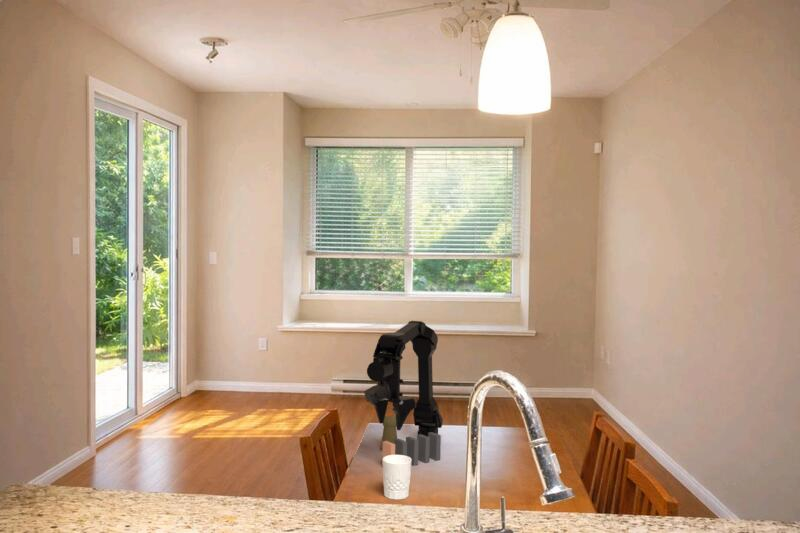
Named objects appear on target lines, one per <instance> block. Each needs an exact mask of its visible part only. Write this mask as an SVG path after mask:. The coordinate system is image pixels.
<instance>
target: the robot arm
mask: <svg viewBox="0 0 800 533" xmlns="http://www.w3.org/2000/svg"><path fill="white" fill-rule="evenodd" d="M438 339H439V337H438V335H437V333H436V332H435V330H434V329H433V328H430V327H429V326H427V325H426V323H425V322H424V321H421V320H410V321H408V322H407V324H405V325H404V326H402V327H401V328H400V329H397V330H396V331H394V332H386V333H382V334H381V335H380V337H379V338H378V340H377V343H376V346H375V350H374V352H373V355H372V358H373V360H372V362H370V363H369V364H368V365H367V366H368V367H367V368H366V374H367V377H368V379H369V380H371V381H372V382H377V384H376V385H373V386H371V387H369V388H367V389H366V390H364V392H363V393H364V394H363V395H364V396H365V400H366V402H368V403H370V404H372V405H373V406H374V409H375V412H376V415H377V419H378V422H379V424H383V421H384V418H385V417H386V412H387V408H388V405H389V403H392V407H393V408H391V409H392V411H393V412H394V413H395V417H396V431H401V430H402V427H403V425H404V423H406V422H405V421H406V420H407V418H408V416H409V414H410V413H411V411H413V412H412V414H413V415H412V416H413V422H414V426H418V429H417V435H419V434H422V435H425V436H427V437H428V433H430V432H433V433H436V434H439V429H441V428H442V427H443V424H444V422H443V421H444V420H443V417H442V415H441V413H440V411H439V404H438V402H437V401H436V398H435V397H434V391H433V390H434V384H433V382H434V381H433V380H434V379H433V355H434V354H435V351H436V350H437V345H438ZM409 342H410V343H411V344H412V350H413V352H414V354H415V355H416V357H417V369H418V370H417V371H418V374H417V376H418V377H417V378H418V379H417V380H418V400H416V399H415V398H413V397H410V396H407V395H406V396H403V394H404V393H403V392H401V384H403V383H404V379H403V378H401V360H403V359H404V358H403V355H402V354H403V352H404V351H405V350H406V345H407V344H408V343H409Z"/></svg>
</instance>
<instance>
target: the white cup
mask: <svg viewBox="0 0 800 533" xmlns="http://www.w3.org/2000/svg"><path fill="white" fill-rule="evenodd" d="M411 460H412V459H411V458H410V457H408V456H404V455H388V456H385V457H384V458H383V468H382V477H383V478H382V480H383V484H382V485H383V495H384V497H385V498H387V499H389V500H397V501H398V500H403V499H404V500H405V499H406V498H409V495H410V485H411V476H412V475H411V473H412V465H411Z"/></svg>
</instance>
